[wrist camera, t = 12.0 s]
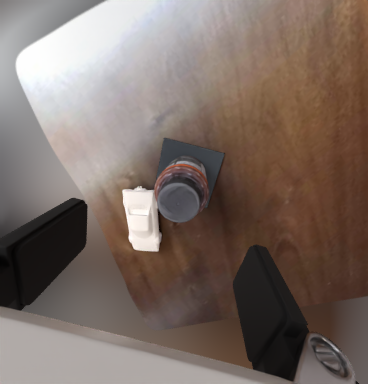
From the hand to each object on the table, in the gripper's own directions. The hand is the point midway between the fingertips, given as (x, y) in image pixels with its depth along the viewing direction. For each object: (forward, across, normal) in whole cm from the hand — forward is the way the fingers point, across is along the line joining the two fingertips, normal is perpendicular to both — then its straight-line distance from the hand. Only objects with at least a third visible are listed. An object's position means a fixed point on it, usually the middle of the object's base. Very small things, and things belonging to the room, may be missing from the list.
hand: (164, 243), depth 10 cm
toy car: (+18, +5, +10) cm, 21 cm away
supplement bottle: (+18, 0, +1) cm, 18 cm away
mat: (+18, 0, +1) cm, 18 cm away
